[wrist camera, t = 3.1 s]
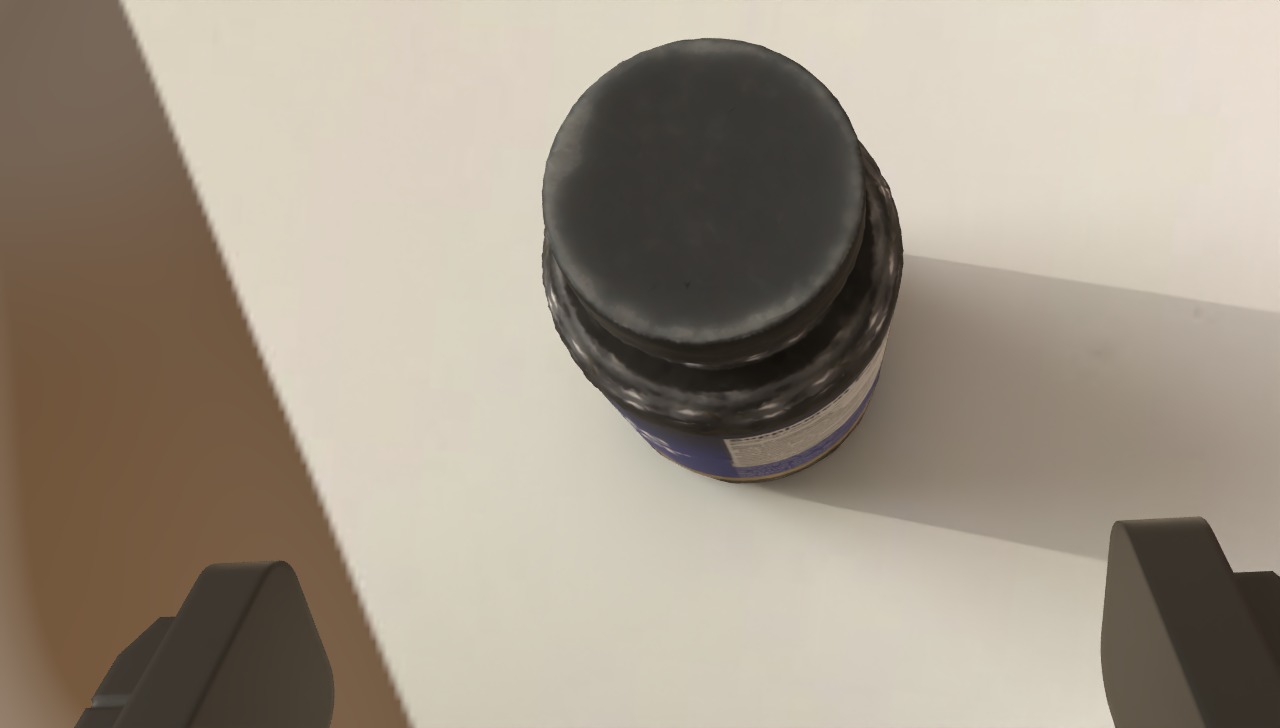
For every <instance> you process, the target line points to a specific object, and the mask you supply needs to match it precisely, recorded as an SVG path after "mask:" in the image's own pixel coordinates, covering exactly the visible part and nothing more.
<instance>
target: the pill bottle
mask: <svg viewBox="0 0 1280 728" xmlns="http://www.w3.org/2000/svg"><path fill="white" fill-rule="evenodd" d="M542 201H543V202H542V206H543V218H544V224H545V229H544V236H545V238H544V242H543V243H544V244H543V253H542V268H543V276H542V278H543V285H544V287H545V293H546V296H547V300H548V307H549V309H550V311H551V313H552V317H553V321H554V324H555V329H556V330H557V332H558V333H559V335H560V337H561V340H562V341H563V343H564V344H565V346H566V347H567V349H568V350H569V352H570V354H571V357H572V358H573V360H574V361H575V363H576V364H577V365H578V366H579V367H580V369H581V370H582V371H583V373H584V375H585V376H586V378H587V379H588V380H589V381H590V382H591V383H592V384H593V385H594V386H595V387H596V388H598V389H599V390H600V391H601V392H602V393H603V394H604V395H605V397H606V398H607V399H608V400H609V401H610V402H611V403H612V404H613V405H614V406H615V408H616V409H617V410H618V411H619V412H620V413H621V414H622V415H623V416H624V418H625V419H626V420H627V421H628V422H629V423H630V424H631V425H632V426H633V427H634V428H635V429H636V430H637V431H638V432H639V434H640V435H641V436H642V437H643V438H644V439H645V440H646V441H647V442H648V443H649V444H650V445H651V446H652V447H653V448H654V449H655V450H656V451H657V452H658V453H660V454H661V455H663V456H664V457H666V458H668V459H669V460H671V461H673V462H675V463H677V464H678V465H680V466H682V467H684V468H687V469H689V470H691V471H693V472H696V473H699V474H702V475H705V476H708V477H711V478H714V479H717V480H721V481H725V482H729V483H756V482H763V481H770V480H775V479H779V478H783V477H786V476H789V475H791V474H794V473H796V472H798V471H801V470H803V469H805V468H808V467H809V466H811V465H813V464H815V463H816V462H818V461H820V460H821V459H823V458H825V457H826V456H828V455H829V454H831V453H832V452H834V451H835V450H836V449H837V448H838V447H839V446H840V444H841V443H842V442H843V441H844V440H845V439H846V438H847V437H848V436H849V434H850V433H851V432H852V431H853V430H854V429H855V427H856V426H857V425H858V424H859V422H860V420H861V418H862V416H863V414H864V412H865V410H866V408H867V406H868V403H869V401H870V399H871V396H872V394H873V391H874V389H875V386H876V383H877V380H878V377H879V372H880V367H881V363H882V359H883V355H884V352H885V348H886V343H887V339H888V334H889V330H890V326H891V322H892V318H893V314H894V309H895V305H896V302H897V298H898V292H899V288H900V283H901V277H902V268H903V251H904V250H903V245H902V236H901V228H900V224H899V218H898V212H897V209H896V206H895V203H894V200H893V198H892V195H891V191H890V187H889V185H888V184H887V182H886V180H885V179H884V178H883V176H882V175H881V172H880V169H879V167H878V166H877V164H876V162H875V161H874V159H873V158H872V157H871V156H870V154H869V153H868V151H867V150H866V148H865V147H864V146H863V144H862V143H861V142H860V141H859V140H858V138H857V135H856V133H855V131H854V129H853V127H852V124H851V122H850V120H849V117H848V116H847V114H846V112H845V111H844V109H843V108H842V106H841V105H840V103H839V101H838V100H837V98H836V97H835V96H834V95H833V94H832V93H831V92H830V91H829V89H828V88H827V87H826V86H825V85H824V84H823V83H822V82H821V81H819V80H818V79H817V78H816V77H815V76H814V75H813V74H811V73H810V72H809V71H808V70H806V69H805V68H804V67H803V66H801V65H800V64H798V63H797V62H795V61H793V60H791V59H789V58H787V57H786V56H784V55H782V54H780V53H777V52H774V51H772V50H770V49H768V48H766V47H764V46H761V45H756V44H751V43H748V42H744V41H738V40H730V39H719V38H701V39H694V40H681V41H676V42H672V43H668V44H665V45H662V46H659V47H656V48H653V49H651V50H647V51H644V52H641V53H639V54H637V55H635V56H633V57H632V58H630V59H628V60H626V61H623V62H621V63H619V64H618V65H617V66H615V67H614V68H613V69H611V70H610V71H609V72H607V73H606V74H604V75H603V76H602V77H600V78H599V79H598V80H597V82H595V83H594V84H593V85H591V86H590V87H589V88H588V89H587V90H586V91H585V92H584V93H583V95H582V96H581V97H580V98H579V99H578V101H577V102H576V103H575V104H574V105H573V107H572V109H571V110H570V112H569V114H568V115H567V117H566V119H565V120H564V122H563V123H562V125H561V127H560V129H559V131H558V133H557V134H556V137H555V139H554V142H553V145H552V147H551V150H550V153H549V156H548V159H547V161H546V169H545V174H544V178H543V189H542Z"/></svg>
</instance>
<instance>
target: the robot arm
mask: <svg viewBox="0 0 1280 728" xmlns="http://www.w3.org/2000/svg"><path fill="white" fill-rule="evenodd" d="M1101 664H1102V673H1103V681H1104V687H1105V692H1106V697H1107V701H1108V705H1109V709H1110V712H1111V715H1112V718H1113V721H1114V724H1115V728H1280V577H1279V576H1278V575H1277V574H1276V573H1274V572H1273V571H1264V572H1241V573H1233V571H1232V569H1231V567H1230V565H1229V563H1228V561H1227V559H1226V557H1225V555H1224V553H1223V551H1222V549H1221V547H1220V545H1219V543H1218V541H1217V539H1216V537H1215V535H1214V533H1213V531H1212V529H1211V527H1210V525H1209V524H1208V523H1207V521H1206V520H1205V519H1203V518H1202V517H1184V518H1164V519H1144V520H1125V521H1116V522H1115V523H1114V525H1113V527H1112V531H1111V536H1110V545H1109V556H1108V567H1107V578H1106V589H1105V600H1104V610H1103V621H1102V632H1101ZM91 700H92V706H91V708H86V709H85V711H84V712H83V714H82V716H81V717H80V719H79V721H78V722H77V724H76V726H75V727H74V728H329V727H330V724H331V719H332V714H333V707H334V681H333V674H332V669H331V666H330V663H329V660H328V657H327V655H326V652H325V650H324V647H323V644H322V641H321V639H320V636H319V633H318V631H317V629H316V626H315V623H314V620H313V618H312V615H311V613H310V610H309V607H308V605H307V602H306V599H305V597H304V594H303V591H302V589H301V586H300V584H299V581H298V578H297V576H296V574H295V572H294V570H293V568H292V567H291V566H290V565H289V564H288V563H286V562H285V561H263V562H243V563H223V564H213V565H210V566H208V567H206V568H205V569H204V571H202V573H201V574H200V576H199V577H198V579H197V581H196V582H195V584H194V586H193V588H192V589H191V591H190V593H189V594H188V596H187V598H186V600H185V601H184V603H183V605H182V607H181V608H180V610H179V612H178V614H177V615H176V617H160V618H159V619H158V620H156V622H154V623H153V624H152V625H151V626H150V627H149V628H148V629H147V630H146V631H144V632H143V633H142V634H141V635H140V636H139V637H138V638H137V639H136V640H135V641H134V642H133V643H131V644H130V645H129V646H128V647H127V648H126V649H125V650H124V651H123V652H122V653H121V654H119V655H118V657H117V658H116V660H115V661H114V663H113V665H112V666H111V668H110V670H109V671H108V673H107V675H106V676H105V678H104V680H103V681H102V683H101V684H100V686H99V688H98V689H97V691H96V693H95V695H94V696H93V698H92V699H91Z"/></svg>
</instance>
